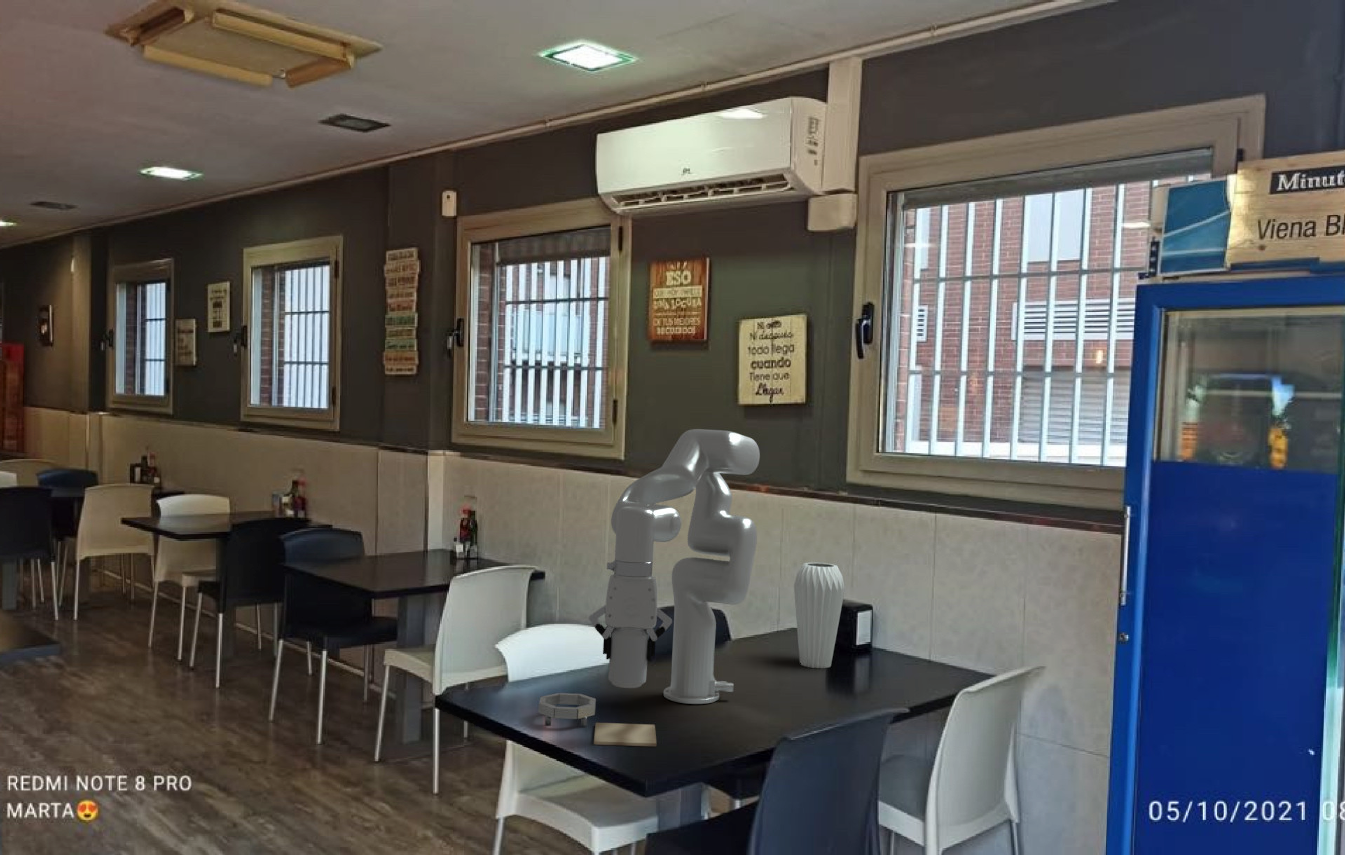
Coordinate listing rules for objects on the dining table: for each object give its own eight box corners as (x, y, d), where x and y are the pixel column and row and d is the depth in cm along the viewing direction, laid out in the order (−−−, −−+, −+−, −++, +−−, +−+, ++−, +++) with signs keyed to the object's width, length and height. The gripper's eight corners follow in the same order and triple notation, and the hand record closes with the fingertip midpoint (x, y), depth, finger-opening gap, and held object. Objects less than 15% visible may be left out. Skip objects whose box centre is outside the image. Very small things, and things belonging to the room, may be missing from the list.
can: (603, 686, 204) (607, 625, 204) (613, 677, 211) (616, 618, 211) (641, 691, 203) (645, 629, 202) (649, 681, 210) (653, 621, 210)
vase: (805, 656, 285) (810, 559, 284) (849, 665, 277) (854, 565, 277) (780, 664, 274) (785, 564, 274) (826, 673, 266) (831, 570, 266)
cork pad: (654, 727, 213) (654, 724, 213) (656, 746, 201) (656, 743, 201) (595, 725, 213) (595, 722, 213) (593, 744, 201) (593, 741, 201)
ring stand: (595, 713, 222) (596, 694, 222) (593, 729, 210) (594, 709, 210) (541, 711, 221) (542, 692, 221) (536, 727, 210) (537, 707, 210)
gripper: (588, 570, 203) (583, 661, 203) (678, 574, 203) (673, 665, 204) (589, 565, 210) (585, 652, 210) (676, 568, 211) (671, 656, 211)
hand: (628, 658), depth 207 cm, fingers closed on can, 7 cm apart
